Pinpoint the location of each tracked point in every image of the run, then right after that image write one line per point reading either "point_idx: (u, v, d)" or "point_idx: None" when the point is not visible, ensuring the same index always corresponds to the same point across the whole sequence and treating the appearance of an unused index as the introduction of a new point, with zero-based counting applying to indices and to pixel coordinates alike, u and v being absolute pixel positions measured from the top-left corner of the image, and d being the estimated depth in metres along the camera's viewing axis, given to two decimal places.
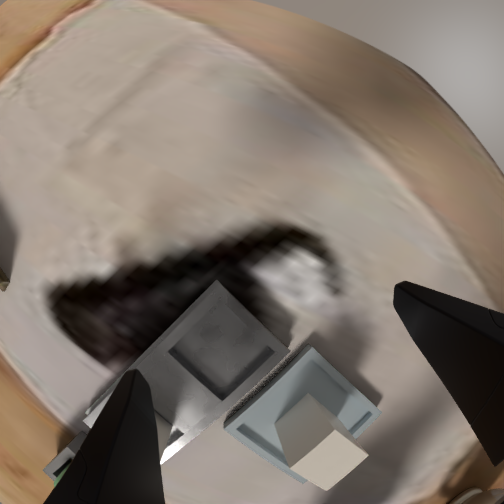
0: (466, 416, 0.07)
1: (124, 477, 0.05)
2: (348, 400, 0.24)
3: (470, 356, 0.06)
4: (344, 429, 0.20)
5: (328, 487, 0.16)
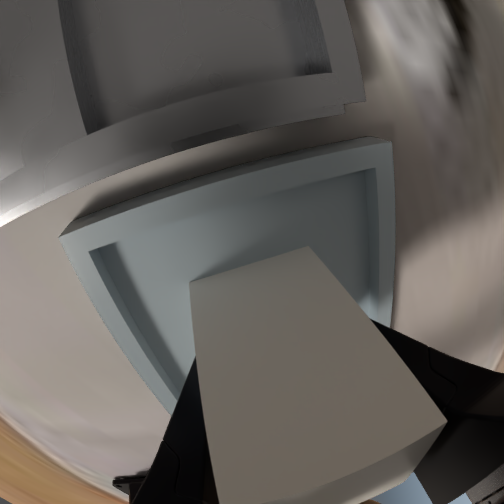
0: None
1: None
2: None
3: None
4: None
5: None
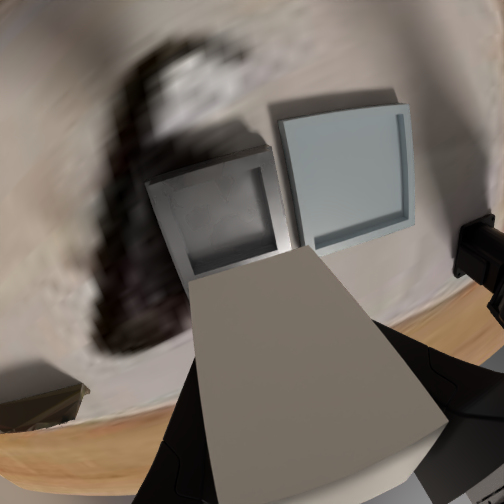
0: None
1: None
2: (369, 123, 0.19)
3: None
4: None
5: None
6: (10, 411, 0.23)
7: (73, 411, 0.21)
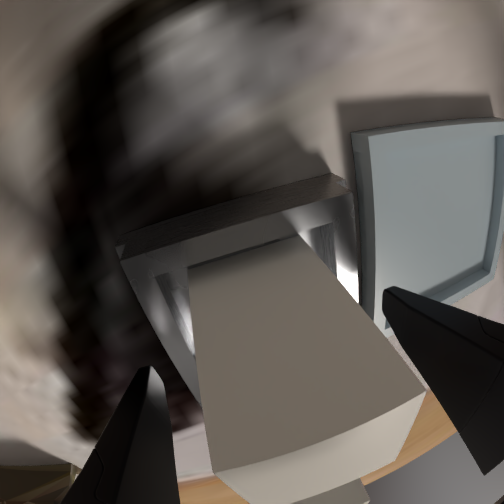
0: (455, 424, 0.07)
1: (141, 476, 0.05)
2: (469, 144, 0.11)
3: (458, 364, 0.06)
4: None
5: None
6: None
7: None
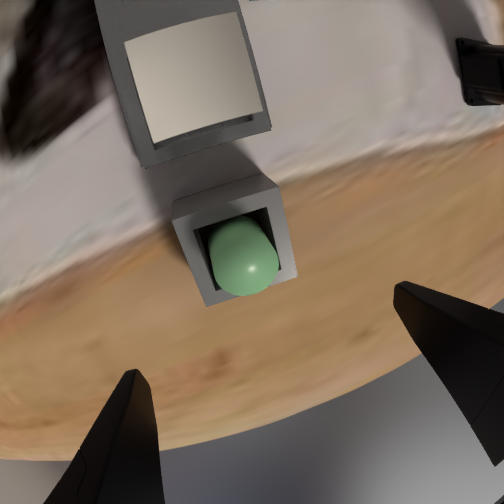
0: (466, 416, 0.07)
1: (124, 477, 0.05)
2: None
3: (470, 356, 0.06)
4: None
5: None
6: None
7: None
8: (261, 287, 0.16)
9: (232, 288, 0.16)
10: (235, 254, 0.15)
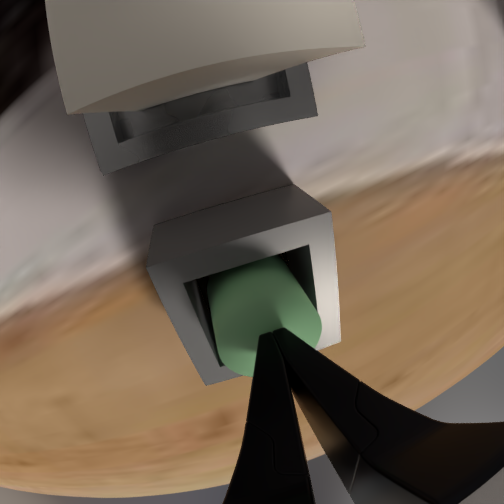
0: (344, 484, 0.06)
1: None
2: None
3: (327, 432, 0.06)
4: None
5: None
6: None
7: None
8: None
9: (246, 368, 0.10)
10: (254, 323, 0.09)
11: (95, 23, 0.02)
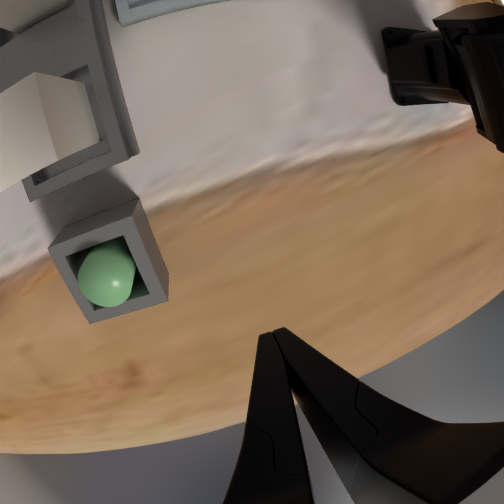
0: (344, 484, 0.06)
1: None
2: None
3: (327, 432, 0.06)
4: None
5: None
6: None
7: None
8: (120, 300, 0.17)
9: (96, 300, 0.17)
10: (92, 271, 0.16)
11: None
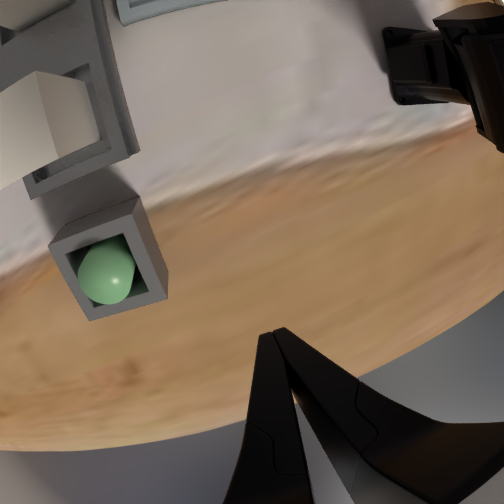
0: (344, 484, 0.06)
1: None
2: None
3: (327, 432, 0.06)
4: None
5: None
6: None
7: None
8: (120, 298, 0.17)
9: (96, 297, 0.17)
10: (92, 268, 0.16)
11: None
